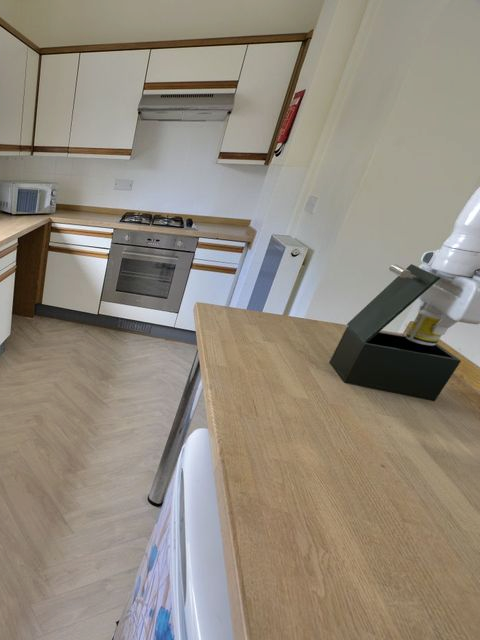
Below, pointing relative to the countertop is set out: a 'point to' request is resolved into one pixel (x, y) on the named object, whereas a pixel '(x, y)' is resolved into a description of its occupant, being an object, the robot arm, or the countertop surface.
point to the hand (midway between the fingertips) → (428, 328)
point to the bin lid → (392, 300)
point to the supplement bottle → (425, 326)
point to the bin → (393, 364)
